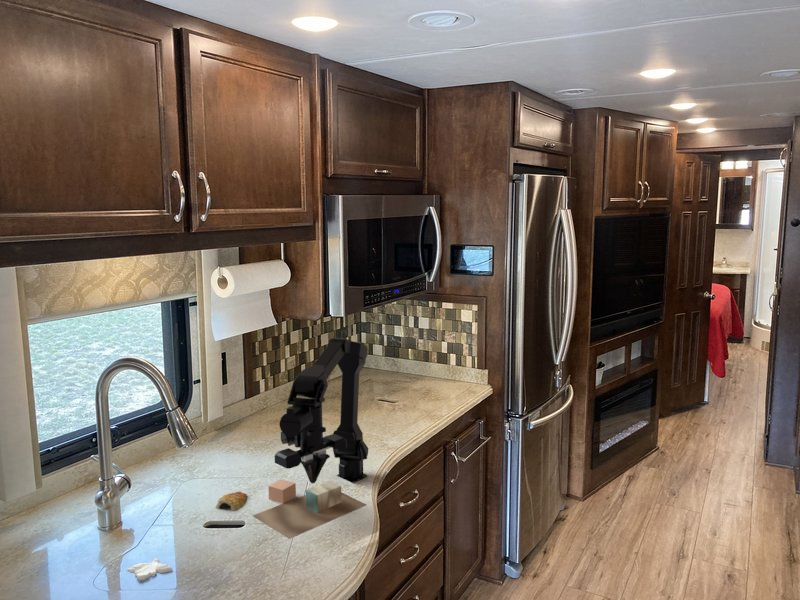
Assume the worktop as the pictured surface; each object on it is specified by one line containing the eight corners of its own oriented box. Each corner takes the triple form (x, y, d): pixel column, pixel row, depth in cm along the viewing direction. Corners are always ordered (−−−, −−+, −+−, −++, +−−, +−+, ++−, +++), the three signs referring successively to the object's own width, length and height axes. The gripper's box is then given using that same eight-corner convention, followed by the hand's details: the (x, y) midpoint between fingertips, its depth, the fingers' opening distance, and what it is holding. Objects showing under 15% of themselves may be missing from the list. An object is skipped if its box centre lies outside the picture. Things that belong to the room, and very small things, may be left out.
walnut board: (328, 490, 177) (328, 486, 177) (367, 509, 166) (366, 504, 165) (252, 520, 160) (252, 515, 160) (289, 543, 149) (289, 538, 149)
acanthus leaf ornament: (172, 573, 139) (172, 565, 138) (141, 586, 134) (141, 578, 133) (157, 559, 144) (156, 552, 143) (126, 572, 139) (125, 564, 139)
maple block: (306, 506, 165) (330, 496, 170) (316, 512, 161) (341, 502, 167) (305, 490, 164) (330, 480, 170) (316, 495, 161) (341, 485, 166)
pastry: (231, 497, 174) (231, 484, 173) (254, 500, 172) (253, 487, 171) (213, 513, 165) (212, 499, 164) (236, 516, 163) (236, 502, 162)
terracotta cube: (281, 496, 174) (281, 479, 173) (296, 500, 171) (295, 483, 170) (269, 503, 169) (268, 485, 169) (283, 508, 167) (282, 490, 166)
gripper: (321, 408, 172) (322, 463, 175) (261, 424, 160) (263, 484, 162) (347, 417, 165) (348, 475, 167) (286, 435, 152) (289, 498, 154)
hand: (312, 482), depth 163 cm, fingers closed
